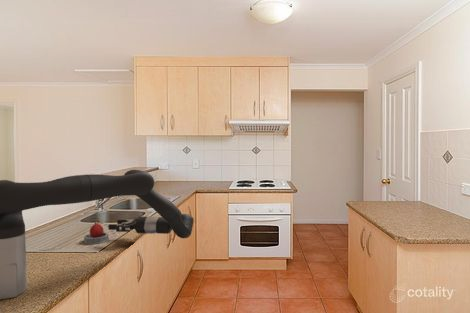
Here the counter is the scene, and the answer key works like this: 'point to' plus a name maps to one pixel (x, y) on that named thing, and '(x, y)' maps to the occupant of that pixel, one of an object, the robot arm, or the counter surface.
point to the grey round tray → (96, 239)
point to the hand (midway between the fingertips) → (113, 224)
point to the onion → (96, 230)
